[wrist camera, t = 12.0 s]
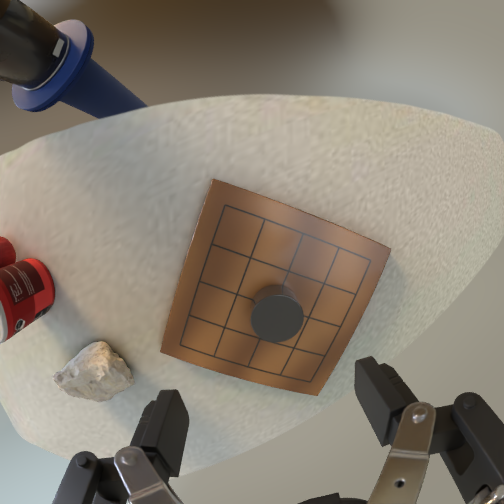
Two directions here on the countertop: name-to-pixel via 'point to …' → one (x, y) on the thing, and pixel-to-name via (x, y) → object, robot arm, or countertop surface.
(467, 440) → the robot arm
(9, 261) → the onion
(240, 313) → the grid board
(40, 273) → the canned food
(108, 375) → the stone
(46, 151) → the countertop surface
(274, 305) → the black stone
